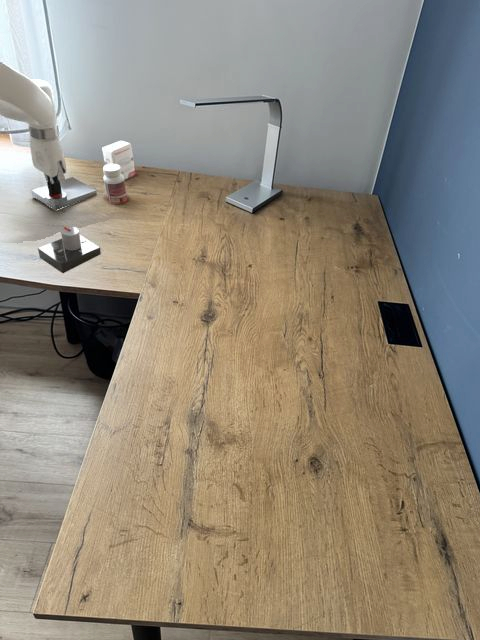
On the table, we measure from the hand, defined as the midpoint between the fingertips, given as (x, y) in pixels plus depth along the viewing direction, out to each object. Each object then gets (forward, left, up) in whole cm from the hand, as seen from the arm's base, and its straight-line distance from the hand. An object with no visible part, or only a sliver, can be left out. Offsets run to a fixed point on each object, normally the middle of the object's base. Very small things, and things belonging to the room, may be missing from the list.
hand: (55, 193), depth 150 cm
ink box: (+26, +2, -4) cm, 27 cm away
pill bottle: (+15, -9, -4) cm, 18 cm away
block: (+5, +4, -4) cm, 8 cm away
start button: (0, 0, -2) cm, 2 cm away
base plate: (-14, -25, -4) cm, 29 cm away
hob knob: (-13, -25, -1) cm, 28 cm away
